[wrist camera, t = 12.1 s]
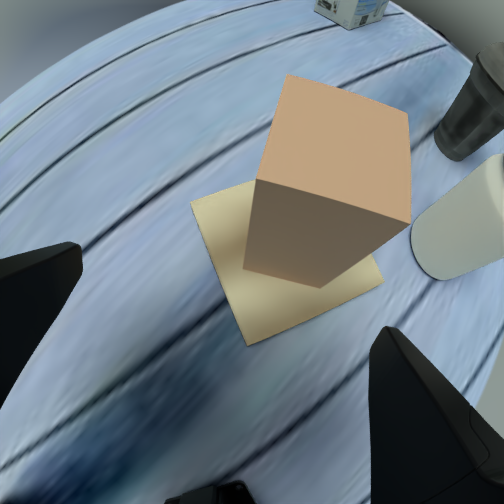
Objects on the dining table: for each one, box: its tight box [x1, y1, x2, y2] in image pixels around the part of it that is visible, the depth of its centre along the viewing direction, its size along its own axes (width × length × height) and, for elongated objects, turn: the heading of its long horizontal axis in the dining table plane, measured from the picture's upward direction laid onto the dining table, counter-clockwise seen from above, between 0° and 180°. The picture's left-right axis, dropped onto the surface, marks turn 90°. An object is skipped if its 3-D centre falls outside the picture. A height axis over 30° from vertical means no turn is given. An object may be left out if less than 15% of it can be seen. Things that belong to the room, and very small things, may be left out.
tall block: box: [243, 74, 411, 289], centre depth 16 cm, size 6×6×12 cm
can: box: [411, 154, 504, 280], centre depth 18 cm, size 6×6×12 cm
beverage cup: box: [434, 42, 504, 161], centre depth 18 cm, size 7×7×20 cm
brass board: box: [190, 179, 384, 346], centre depth 23 cm, size 11×11×1 cm
